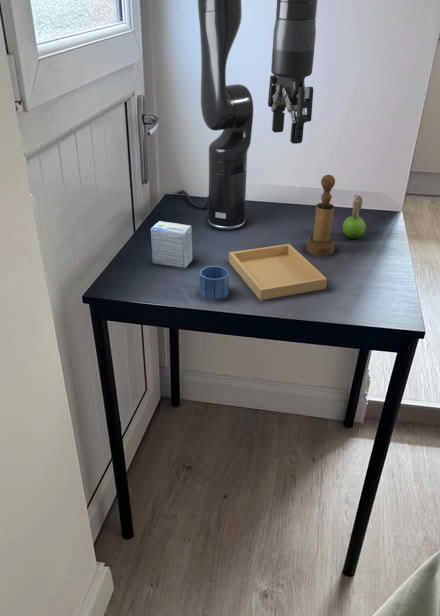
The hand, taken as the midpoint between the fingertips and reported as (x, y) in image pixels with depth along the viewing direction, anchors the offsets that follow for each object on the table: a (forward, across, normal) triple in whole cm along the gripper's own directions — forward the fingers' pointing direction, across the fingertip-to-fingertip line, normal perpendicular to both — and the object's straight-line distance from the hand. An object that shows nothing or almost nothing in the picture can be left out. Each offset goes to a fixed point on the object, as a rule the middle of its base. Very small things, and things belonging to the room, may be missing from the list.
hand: (286, 137), depth 110 cm
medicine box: (+28, +8, +22) cm, 36 cm away
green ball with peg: (+28, +7, -23) cm, 37 cm away
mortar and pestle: (+28, +3, -12) cm, 31 cm away
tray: (+28, -5, +3) cm, 28 cm away
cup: (+28, -8, +18) cm, 34 cm away
